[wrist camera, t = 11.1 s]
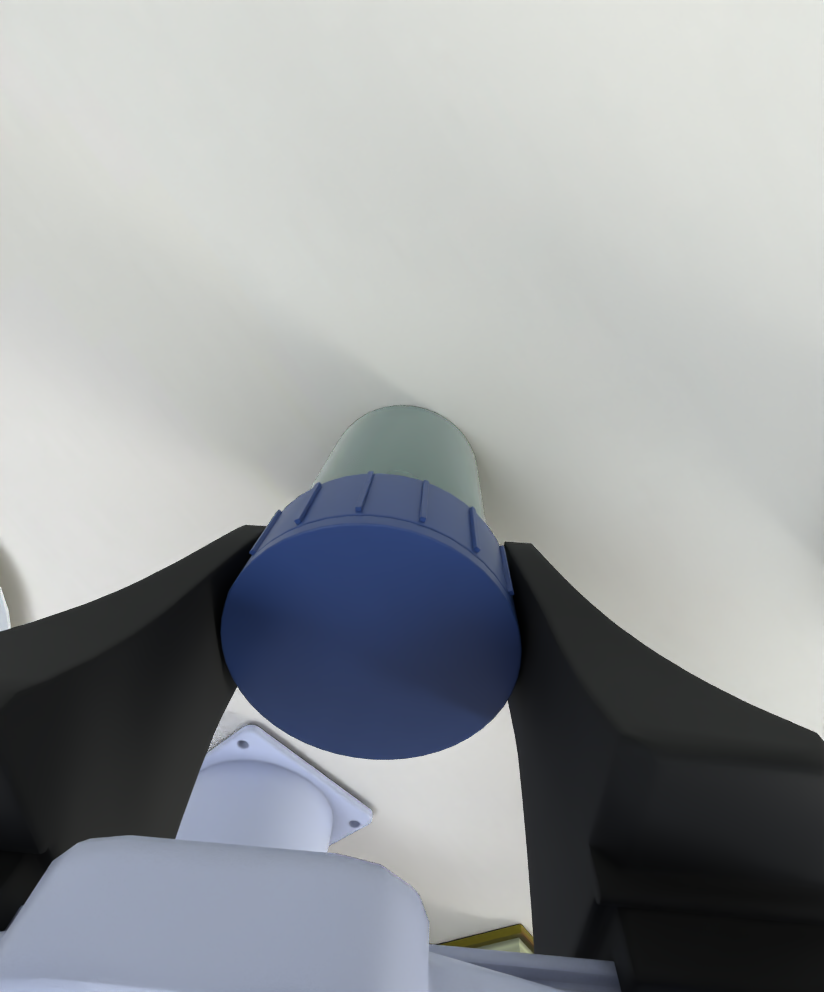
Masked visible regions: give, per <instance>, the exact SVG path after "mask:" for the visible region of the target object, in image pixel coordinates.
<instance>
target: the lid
mask: <svg viewBox="0 0 824 992" xmlns="http://www.w3.org/2000/svg"><path fill="white" fill-rule="evenodd" d="M249 553H250V554H251V555H252V556H251V557H250V559H249V561H248V562H247V564H246V565H245V567H244V568H243V570H242V571H241V573H240V574H239V576H238V577H237V579H236V580H235V582H234V583H233V585H232V587H231V588H230V590H229V591H228V594H227V598H226V600H225V603H224V608H223V612H222V616H221V630H220V635H221V644H222V651H223V654H224V658H225V662H226V665H227V667H228V669H229V672H230V674H231V676H232V678H233V680H234V682H235V683H236V685H237V687H238V688H239V690H240V691H241V693H242V694H243V695H244V697H245V698H246V699H247V700H248V702H249V703H250V704H251V705H252V706H253V707H254V708H255V709H256V710H257V711H258V712H259V713H260V714H261V715H262V716H263V717H265V718H266V719H267V720H268V721H270V722H271V723H272V724H273V725H275V726H276V727H278V728H279V729H281V730H282V731H284V732H286V733H287V734H289V735H290V736H292V737H294V738H296V739H298V740H300V741H302V742H304V743H307V744H309V745H312V746H314V747H317V748H319V749H322V750H325V751H329V752H332V753H335V754H340V755H345V756H349V757H354V758H364V759H376V760H393V759H406V758H412V757H418V756H424V755H427V754H431V753H435V752H438V751H441V750H444V749H446V748H449V747H452V746H454V745H456V744H458V743H460V742H462V741H464V740H466V739H468V738H469V737H471V736H472V735H474V734H475V733H477V732H478V731H480V730H481V729H482V728H484V727H485V726H486V725H487V724H488V723H489V722H490V721H491V720H492V719H494V717H495V716H496V715H497V714H498V713H499V712H500V710H501V709H502V708H503V707H504V705H505V704H506V702H507V700H508V699H509V697H510V695H511V694H512V691H513V689H514V687H515V684H516V682H517V679H518V675H519V671H520V666H521V657H522V644H521V636H520V629H519V624H518V619H517V614H516V610H515V605H514V600H513V595H514V590H513V586H512V581H511V576H510V571H509V566H508V562H507V557H506V552H505V548H504V546H503V545H502V546H499V544H498V541H497V539H496V538H495V536H494V535H493V533H492V532H491V530H490V529H489V527H488V526H487V525H486V523H485V522H484V521H483V520H482V519H481V518H480V517H479V515H478V514H477V513H476V509H475V508H474V507H473V506H472V507H471V508H470V507H469V506H468V505H466V504H465V503H464V502H462V501H461V500H459V499H458V498H456V497H455V496H453V495H452V494H450V493H449V492H447V491H445V490H443V489H441V488H439V487H437V486H435V485H432V484H429V481H427V480H424V481H421V480H418V479H414V478H409V477H405V476H400V475H392V474H382V473H377V474H374V472H373V471H368V473H367V474H358V475H352V476H345V477H341V478H338V479H334V480H331V481H328V482H325V483H323V484H321V483H320V482H318V483H316V484H315V485H314V487H313V488H312V489H310V490H309V491H307V492H305V493H304V494H302V495H300V496H299V497H297V498H296V499H295V500H294V501H293V502H291V503H290V504H289V505H288V506H287V507H286V508H285V509H284V510H283V511H282V512H281V511H280V510H278V511H277V512H276V513H275V515H274V516H273V518H272V519H271V521H270V522H269V524H268V525H267V527H266V528H265V530H264V531H263V533H262V534H261V536H260V537H259V539H258V540H257V542H256V543H255V545H254V546H253V548H252V549H251V551H250V552H249Z"/></svg>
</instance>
